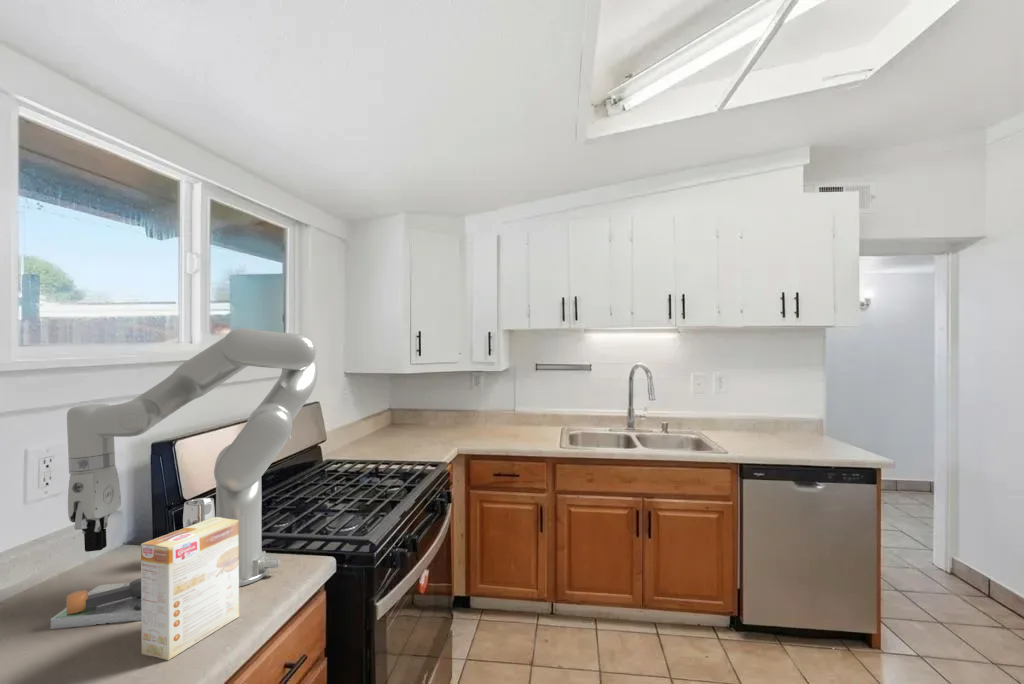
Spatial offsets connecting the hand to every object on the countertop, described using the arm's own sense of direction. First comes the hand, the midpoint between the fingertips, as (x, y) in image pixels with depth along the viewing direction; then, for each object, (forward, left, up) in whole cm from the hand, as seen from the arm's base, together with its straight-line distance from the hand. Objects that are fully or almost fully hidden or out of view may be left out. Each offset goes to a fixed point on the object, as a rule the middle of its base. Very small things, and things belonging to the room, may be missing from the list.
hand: (95, 549), depth 105 cm
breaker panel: (-5, +2, -12) cm, 13 cm away
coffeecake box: (-26, +16, -12) cm, 33 cm away
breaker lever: (-5, +4, -9) cm, 11 cm away
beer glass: (-11, -21, -12) cm, 27 cm away
